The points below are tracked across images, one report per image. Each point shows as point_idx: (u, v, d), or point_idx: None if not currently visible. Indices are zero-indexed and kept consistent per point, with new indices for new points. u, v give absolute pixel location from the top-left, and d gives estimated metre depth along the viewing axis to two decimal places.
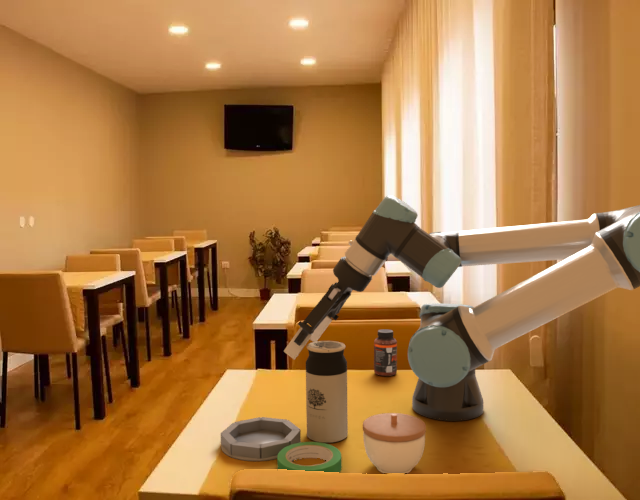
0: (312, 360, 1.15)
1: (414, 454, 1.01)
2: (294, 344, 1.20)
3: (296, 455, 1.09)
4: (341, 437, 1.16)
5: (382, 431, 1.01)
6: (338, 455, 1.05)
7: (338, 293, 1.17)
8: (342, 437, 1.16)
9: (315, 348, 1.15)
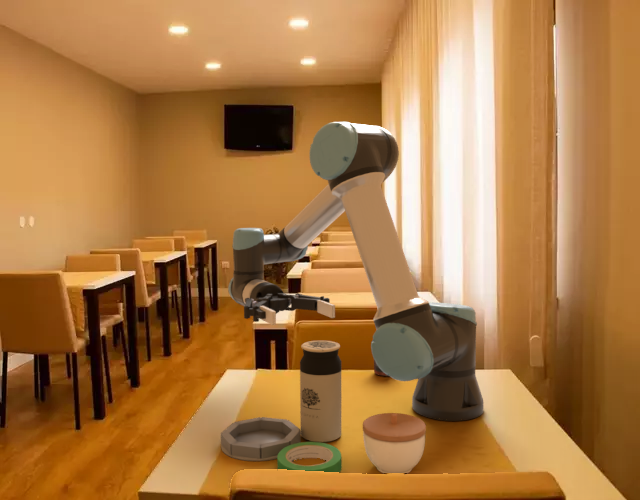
0: (306, 360, 1.16)
1: (414, 454, 1.01)
2: (267, 317, 1.24)
3: (296, 455, 1.09)
4: (335, 437, 1.16)
5: (382, 431, 1.01)
6: (338, 455, 1.05)
7: None
8: (336, 437, 1.17)
9: (310, 347, 1.15)
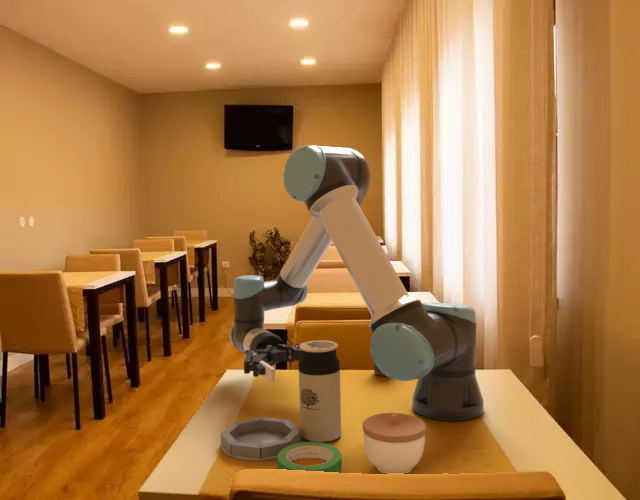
0: (304, 360, 1.16)
1: (414, 454, 1.01)
2: (266, 373, 1.26)
3: (296, 455, 1.09)
4: (335, 436, 1.16)
5: (382, 431, 1.01)
6: (338, 455, 1.05)
7: None
8: (336, 436, 1.17)
9: (307, 348, 1.15)
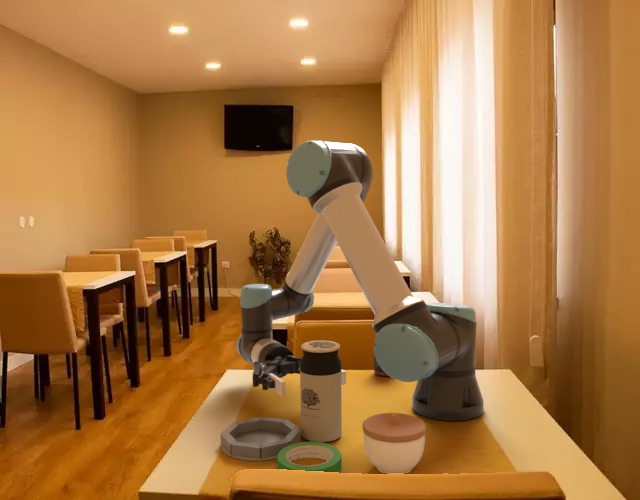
0: (306, 360, 1.16)
1: (414, 454, 1.01)
2: (276, 387, 1.21)
3: (296, 455, 1.09)
4: (335, 437, 1.16)
5: (382, 431, 1.01)
6: (338, 454, 1.05)
7: None
8: (336, 437, 1.17)
9: (309, 348, 1.15)
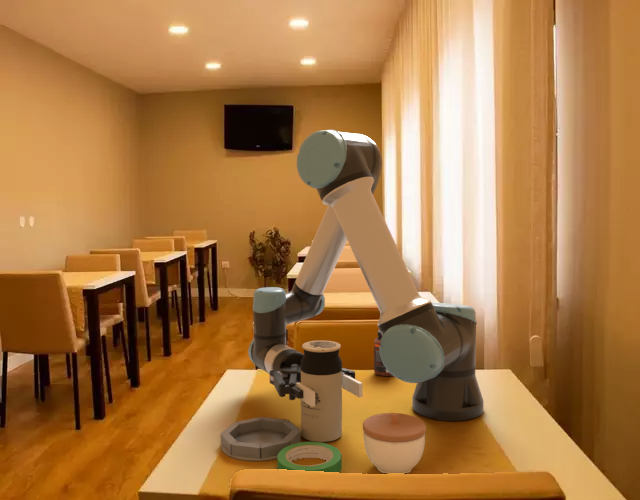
0: (307, 359, 1.16)
1: (414, 454, 1.01)
2: (305, 397, 1.14)
3: (296, 455, 1.09)
4: (335, 437, 1.16)
5: (382, 431, 1.01)
6: (338, 454, 1.05)
7: None
8: (336, 437, 1.17)
9: (310, 347, 1.16)
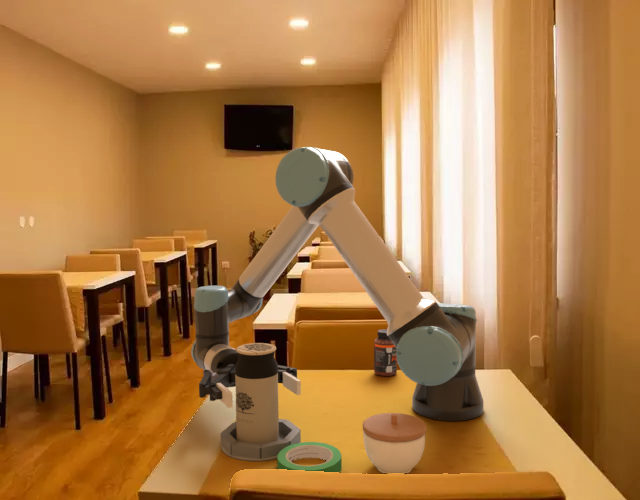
0: (240, 363, 1.13)
1: (413, 454, 1.01)
2: (223, 398, 1.11)
3: (296, 455, 1.09)
4: None
5: (382, 431, 1.01)
6: (338, 455, 1.05)
7: None
8: None
9: (243, 350, 1.12)
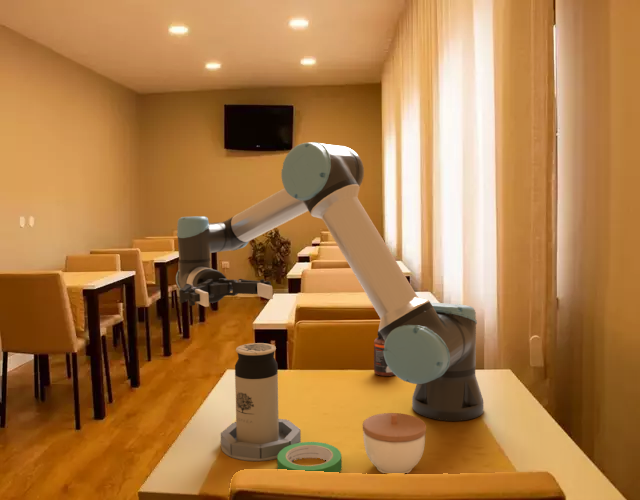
0: (240, 363, 1.13)
1: (413, 454, 1.01)
2: (201, 300, 1.22)
3: (296, 455, 1.09)
4: None
5: (382, 431, 1.01)
6: (338, 455, 1.05)
7: None
8: None
9: (243, 351, 1.12)
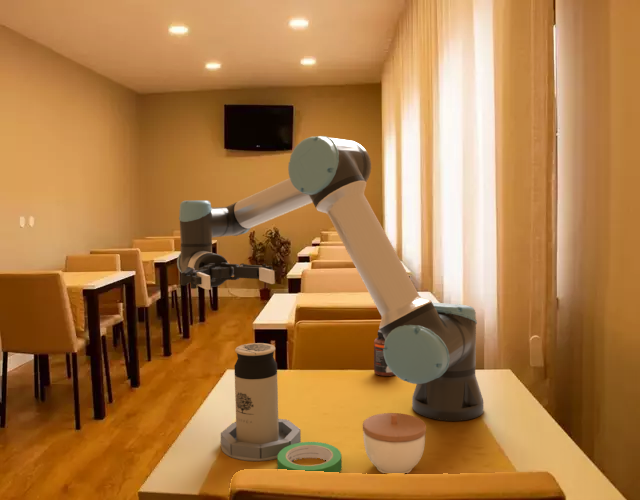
0: (239, 363, 1.13)
1: (413, 454, 1.01)
2: (202, 283, 1.21)
3: (296, 455, 1.09)
4: None
5: (382, 431, 1.01)
6: (338, 455, 1.05)
7: None
8: None
9: (242, 351, 1.12)
